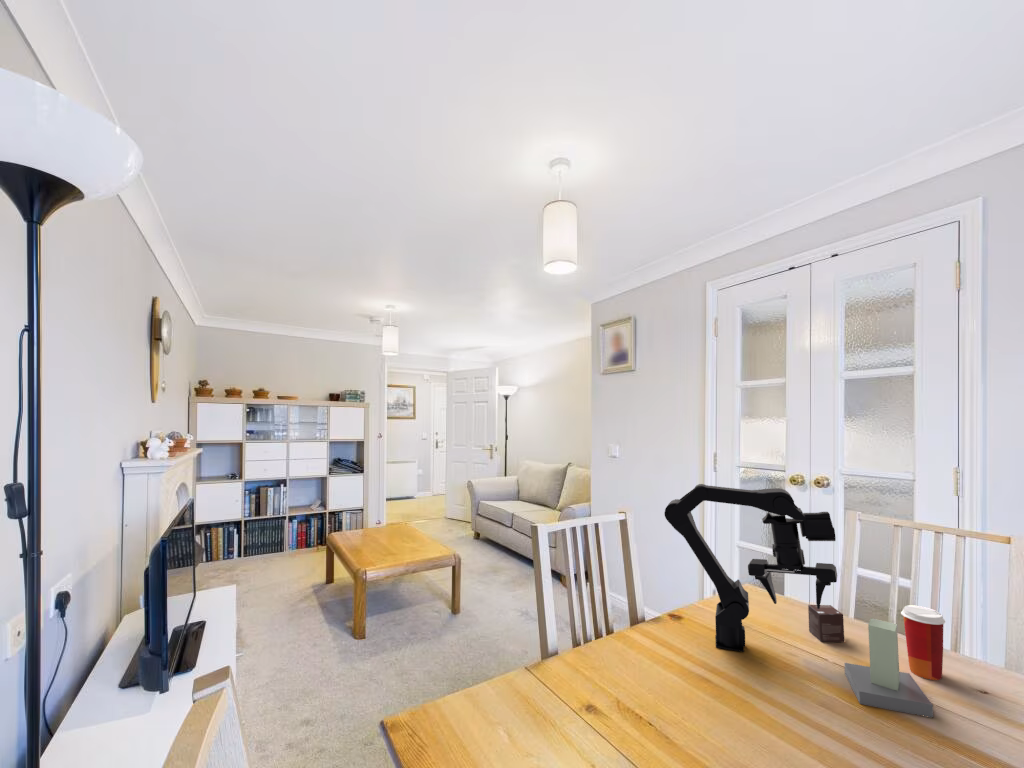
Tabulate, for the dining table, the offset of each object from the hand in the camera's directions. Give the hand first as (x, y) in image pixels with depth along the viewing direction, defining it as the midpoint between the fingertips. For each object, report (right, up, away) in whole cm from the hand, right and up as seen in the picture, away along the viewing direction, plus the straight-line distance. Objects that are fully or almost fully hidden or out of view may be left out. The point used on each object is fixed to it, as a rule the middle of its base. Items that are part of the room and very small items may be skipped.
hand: (796, 605), depth 117 cm
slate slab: (+10, -12, -16) cm, 22 cm away
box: (+14, -13, +10) cm, 21 cm away
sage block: (+10, -9, -16) cm, 20 cm away
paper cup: (+25, -12, -8) cm, 29 cm away
